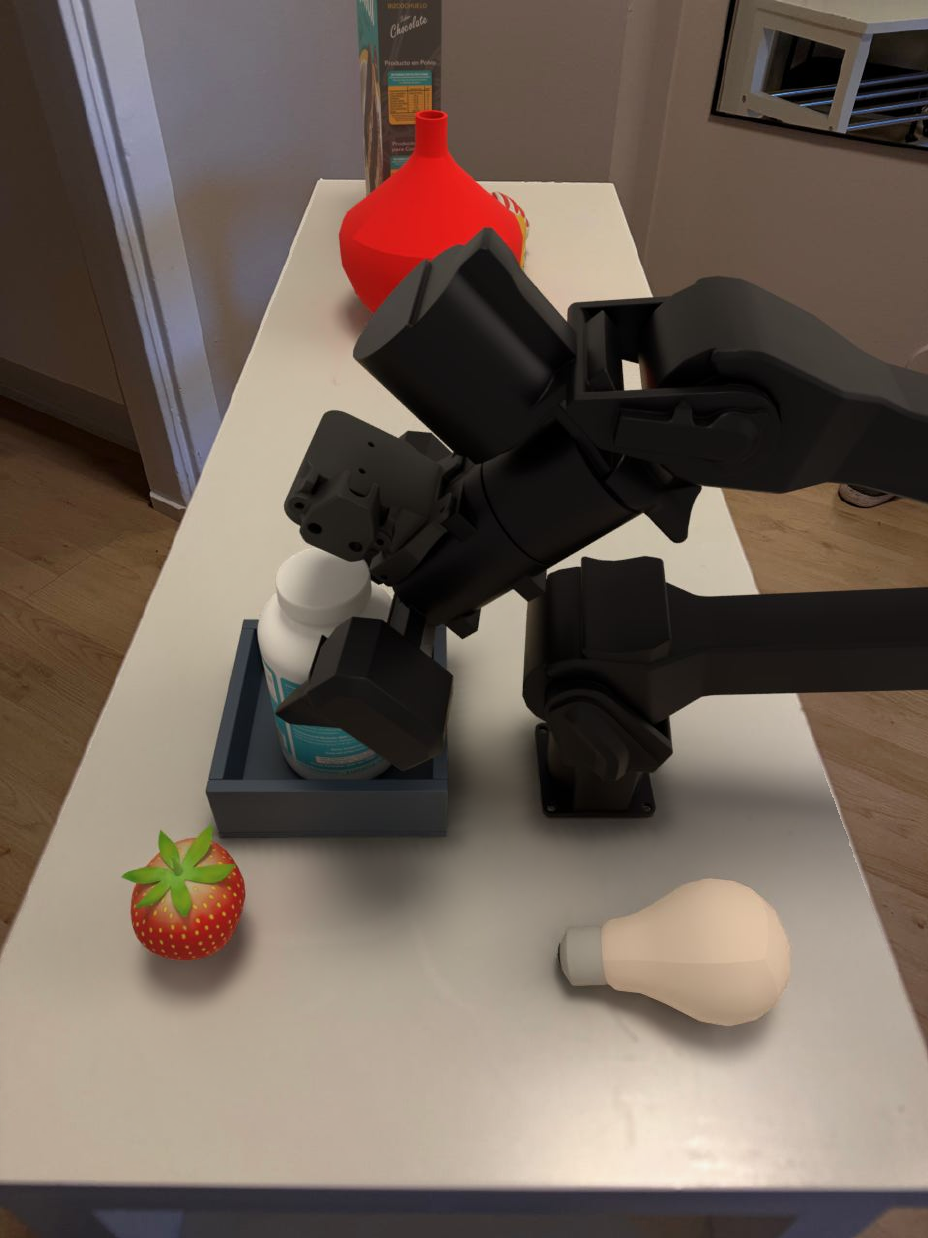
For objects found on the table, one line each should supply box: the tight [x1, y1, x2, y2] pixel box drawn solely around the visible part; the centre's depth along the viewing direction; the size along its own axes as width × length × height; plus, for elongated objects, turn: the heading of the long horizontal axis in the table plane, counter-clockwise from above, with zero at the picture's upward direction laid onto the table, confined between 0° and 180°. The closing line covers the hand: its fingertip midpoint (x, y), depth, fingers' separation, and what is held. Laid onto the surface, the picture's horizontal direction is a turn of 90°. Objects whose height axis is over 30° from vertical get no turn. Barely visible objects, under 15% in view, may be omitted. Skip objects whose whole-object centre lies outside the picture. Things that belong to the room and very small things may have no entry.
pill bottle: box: [257, 546, 393, 780], centre depth 48 cm, size 8×7×14 cm
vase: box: [338, 110, 523, 315], centre depth 86 cm, size 18×18×19 cm
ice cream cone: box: [490, 191, 531, 271], centre depth 100 cm, size 6×6×20 cm
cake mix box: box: [355, 0, 443, 197], centre depth 95 cm, size 22×6×30 cm, turn 10°
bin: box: [205, 618, 449, 838], centre depth 51 cm, size 13×13×4 cm
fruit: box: [120, 823, 246, 961], centre depth 41 cm, size 5×5×8 cm
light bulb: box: [556, 877, 792, 1027], centre depth 42 cm, size 7×7×11 cm
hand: (305, 650), depth 47 cm, fingers open, 9 cm apart
